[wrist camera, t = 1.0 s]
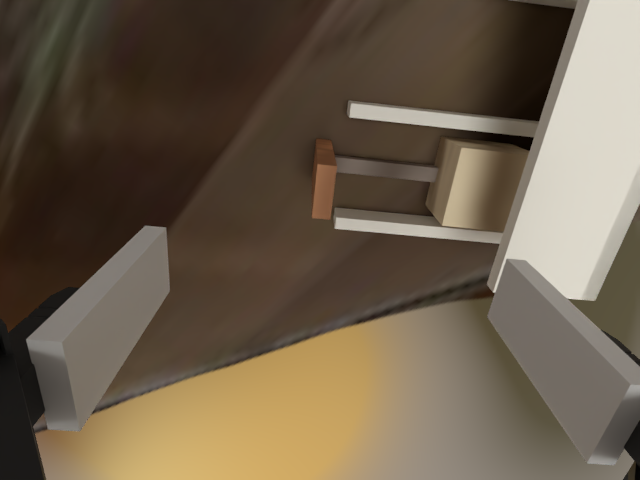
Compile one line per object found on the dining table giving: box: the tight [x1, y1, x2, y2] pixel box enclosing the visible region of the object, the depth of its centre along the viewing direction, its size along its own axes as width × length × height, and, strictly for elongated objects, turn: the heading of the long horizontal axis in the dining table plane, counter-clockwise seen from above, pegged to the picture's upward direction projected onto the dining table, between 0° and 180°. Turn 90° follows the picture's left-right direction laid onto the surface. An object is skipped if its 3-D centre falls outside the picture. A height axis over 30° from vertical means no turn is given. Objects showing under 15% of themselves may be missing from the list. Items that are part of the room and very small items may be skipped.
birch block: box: [312, 136, 530, 232], centre depth 29 cm, size 16×6×9 cm, turn 84°
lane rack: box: [333, 0, 640, 301], centre depth 25 cm, size 17×28×11 cm, turn 174°
